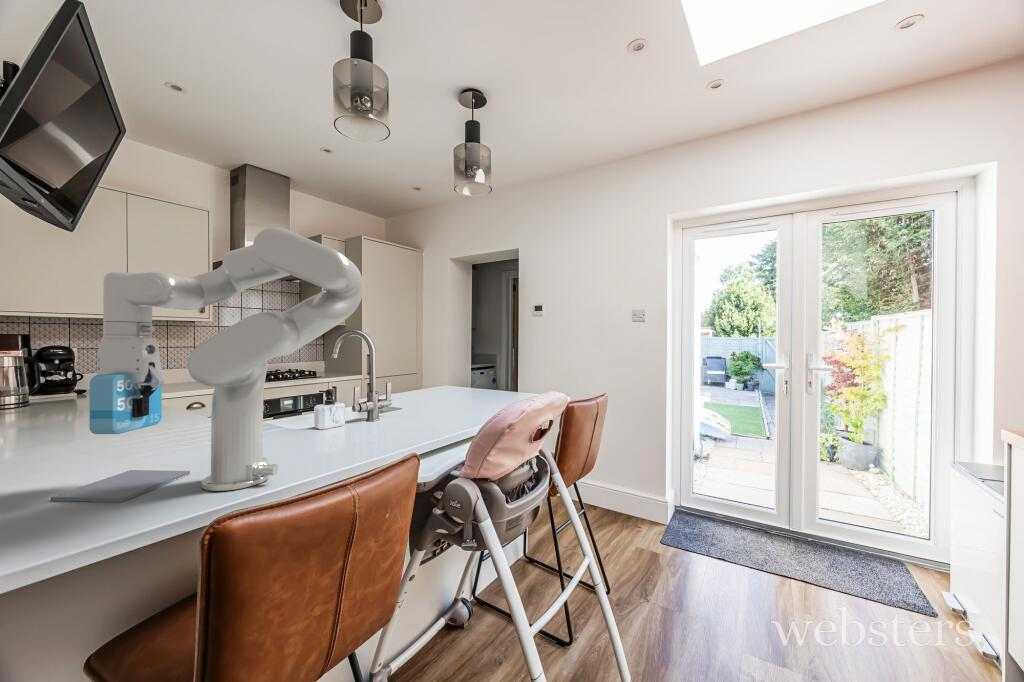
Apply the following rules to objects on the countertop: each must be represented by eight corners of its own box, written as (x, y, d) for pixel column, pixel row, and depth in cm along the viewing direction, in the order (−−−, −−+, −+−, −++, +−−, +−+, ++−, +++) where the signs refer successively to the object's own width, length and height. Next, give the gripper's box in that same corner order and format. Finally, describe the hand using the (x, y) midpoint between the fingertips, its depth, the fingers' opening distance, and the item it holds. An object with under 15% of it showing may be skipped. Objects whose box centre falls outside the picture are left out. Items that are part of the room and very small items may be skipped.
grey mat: (189, 474, 93) (189, 470, 93) (122, 502, 77) (122, 498, 77) (130, 473, 93) (130, 470, 93) (50, 501, 77) (50, 496, 77)
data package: (112, 435, 79) (112, 375, 79) (88, 435, 79) (88, 375, 79) (162, 423, 91) (162, 370, 91) (141, 423, 91) (141, 370, 91)
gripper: (182, 331, 89) (182, 413, 89) (107, 331, 89) (106, 412, 89) (151, 331, 81) (151, 420, 81) (69, 330, 81) (69, 419, 81)
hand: (128, 415), depth 85 cm, fingers closed on data package, 4 cm apart
